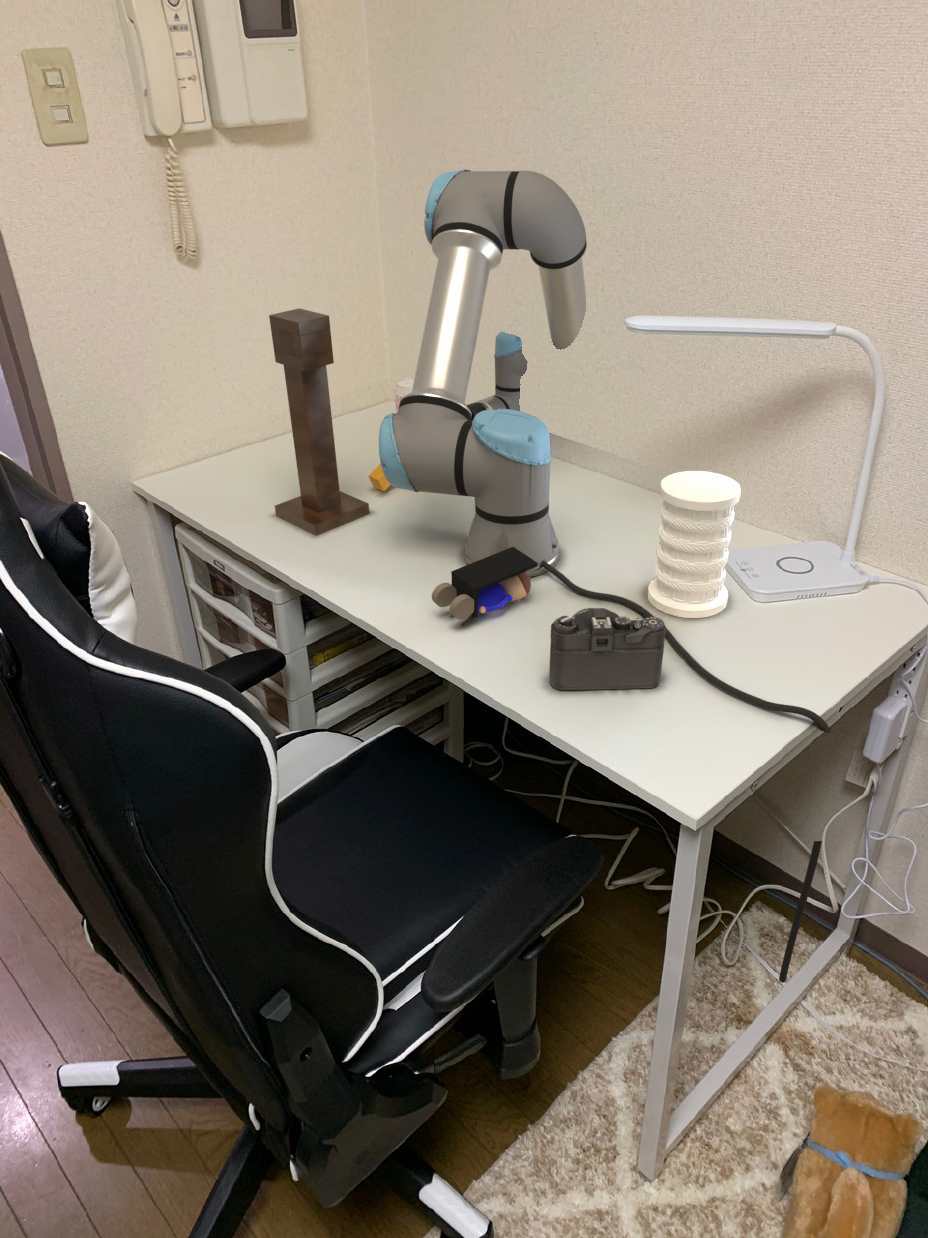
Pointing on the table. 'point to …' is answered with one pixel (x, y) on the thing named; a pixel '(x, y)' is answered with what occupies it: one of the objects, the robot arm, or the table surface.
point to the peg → (379, 479)
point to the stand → (311, 422)
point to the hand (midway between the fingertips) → (393, 452)
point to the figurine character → (486, 584)
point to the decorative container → (693, 543)
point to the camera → (605, 651)
